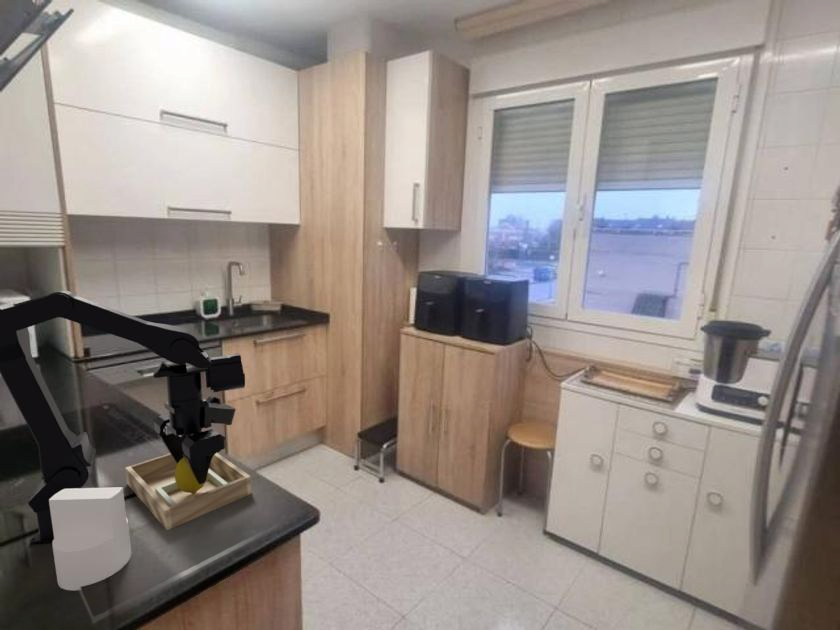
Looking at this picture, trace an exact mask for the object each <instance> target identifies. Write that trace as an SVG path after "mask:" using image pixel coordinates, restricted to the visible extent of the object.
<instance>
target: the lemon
mask: <svg viewBox="0 0 840 630" xmlns="http://www.w3.org/2000/svg"><path fill="white" fill-rule="evenodd" d="M207 475H208V474H207ZM206 480H207V478H206ZM175 481H176V484H177V486H178V488H179V489H180V490H182V491H184V492H187V493H192V494H195V493H196V492H197V491H198V490H199V489H201V488H202V487H203V486H204V484H205V483H203V484H198V482H197V480H196V478H195V477H194V475H193V473H192V471H191V469H190V467H189V466H188V464H187V462H186V460H185V458H182V459H181V460H180V461H179V462H178V464H177V466H176V469H175ZM205 482H206V481H205Z"/></svg>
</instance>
